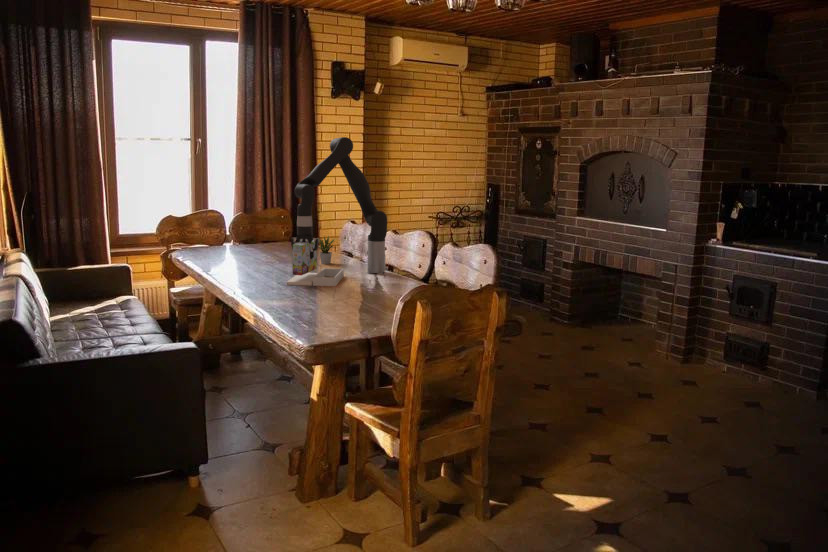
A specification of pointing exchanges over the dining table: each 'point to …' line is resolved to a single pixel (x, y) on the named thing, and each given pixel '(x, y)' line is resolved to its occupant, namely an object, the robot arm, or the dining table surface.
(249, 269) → the dining table surface
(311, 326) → the dining table surface
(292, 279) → the board
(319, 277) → the bin
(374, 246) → the robot arm
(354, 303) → the dining table surface
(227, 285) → the dining table surface
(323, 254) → the house plant
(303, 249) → the snack box
